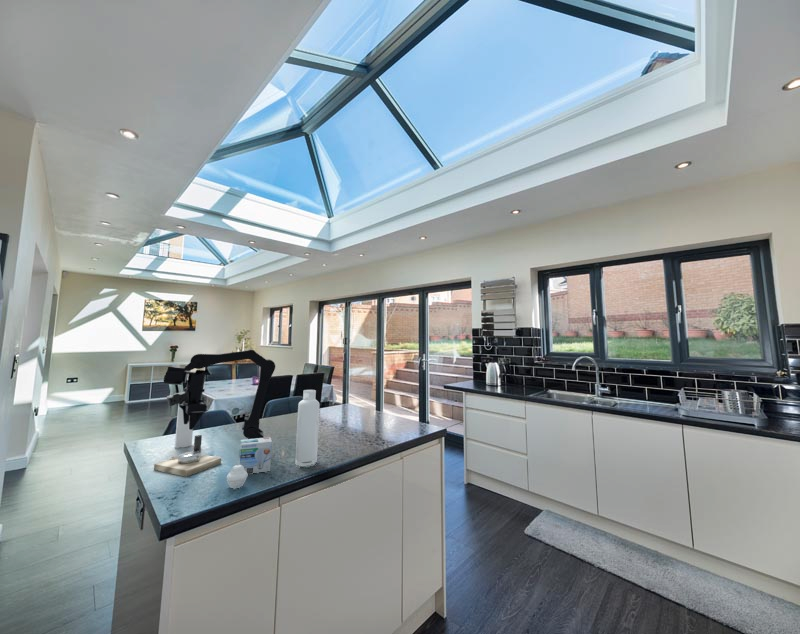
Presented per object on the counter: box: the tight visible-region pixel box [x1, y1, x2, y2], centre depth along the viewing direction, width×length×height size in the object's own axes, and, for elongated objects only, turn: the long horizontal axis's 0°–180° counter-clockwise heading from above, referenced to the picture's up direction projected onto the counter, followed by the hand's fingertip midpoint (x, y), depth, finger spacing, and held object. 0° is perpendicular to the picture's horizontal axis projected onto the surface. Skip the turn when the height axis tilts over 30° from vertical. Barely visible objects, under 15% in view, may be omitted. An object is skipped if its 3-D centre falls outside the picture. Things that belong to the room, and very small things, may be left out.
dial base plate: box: [153, 453, 222, 478], centre depth 121 cm, size 17×14×2 cm
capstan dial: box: [177, 434, 203, 464], centre depth 123 cm, size 12×7×7 cm, turn 11°
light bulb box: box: [238, 436, 273, 475], centre depth 119 cm, size 11×7×11 cm, turn 117°
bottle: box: [294, 389, 321, 466], centre depth 127 cm, size 8×8×28 cm
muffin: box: [225, 464, 248, 489], centre depth 105 cm, size 6×6×7 cm
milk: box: [174, 404, 194, 449], centre depth 146 cm, size 6×6×22 cm
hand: (188, 426), depth 126 cm, fingers open, 9 cm apart
